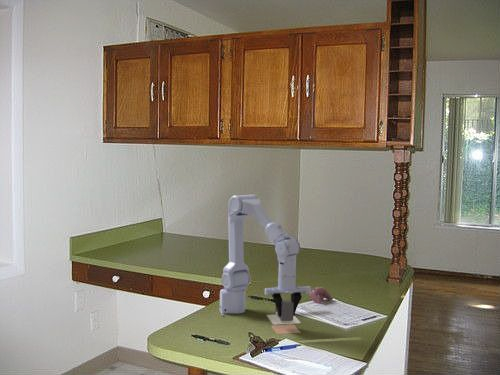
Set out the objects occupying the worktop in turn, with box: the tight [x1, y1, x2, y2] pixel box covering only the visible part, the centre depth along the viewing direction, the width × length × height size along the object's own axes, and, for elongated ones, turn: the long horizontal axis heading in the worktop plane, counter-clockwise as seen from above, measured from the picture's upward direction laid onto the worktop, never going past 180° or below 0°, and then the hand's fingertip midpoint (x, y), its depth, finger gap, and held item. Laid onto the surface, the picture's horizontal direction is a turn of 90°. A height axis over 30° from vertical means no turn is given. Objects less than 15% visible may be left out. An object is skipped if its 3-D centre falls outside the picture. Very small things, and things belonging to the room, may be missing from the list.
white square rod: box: [280, 285, 312, 296], centre depth 192 cm, size 2×14×2 cm, turn 108°
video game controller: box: [308, 286, 333, 305], centre depth 207 cm, size 10×5×7 cm, turn 142°
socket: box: [266, 304, 302, 326], centre depth 185 cm, size 10×14×7 cm
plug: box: [278, 298, 294, 321], centre depth 172 cm, size 4×4×6 cm
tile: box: [271, 324, 301, 335], centre depth 173 cm, size 8×8×1 cm
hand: (286, 315), depth 172 cm, fingers closed on plug, 4 cm apart
